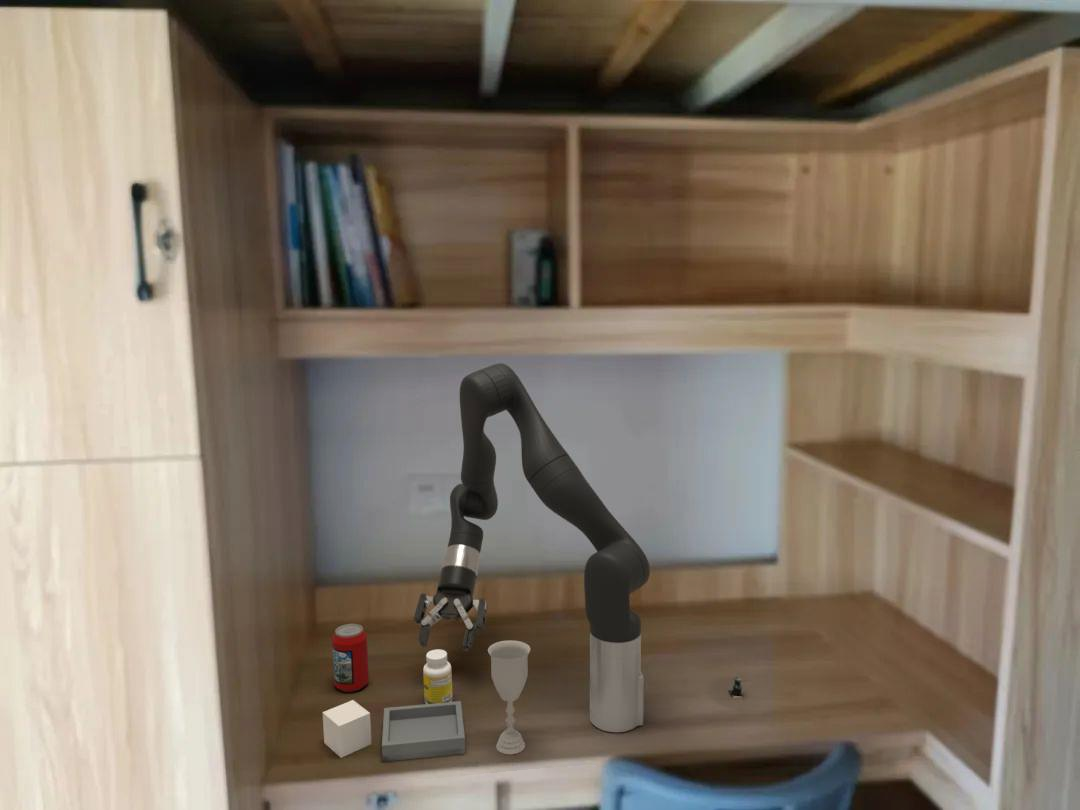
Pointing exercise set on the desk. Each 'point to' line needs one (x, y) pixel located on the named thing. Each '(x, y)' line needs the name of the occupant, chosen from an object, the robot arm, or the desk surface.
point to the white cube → (347, 728)
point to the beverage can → (350, 657)
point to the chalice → (509, 686)
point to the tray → (423, 731)
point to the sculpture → (736, 689)
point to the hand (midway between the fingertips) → (443, 648)
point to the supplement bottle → (437, 678)
